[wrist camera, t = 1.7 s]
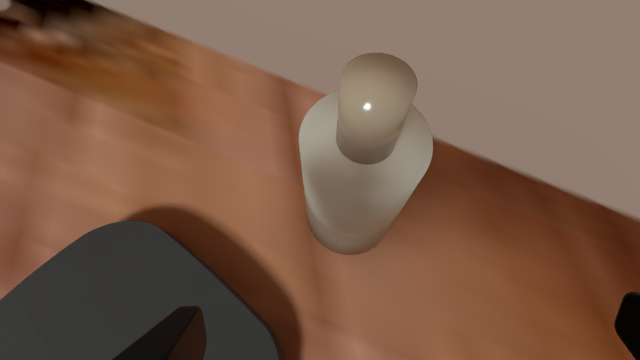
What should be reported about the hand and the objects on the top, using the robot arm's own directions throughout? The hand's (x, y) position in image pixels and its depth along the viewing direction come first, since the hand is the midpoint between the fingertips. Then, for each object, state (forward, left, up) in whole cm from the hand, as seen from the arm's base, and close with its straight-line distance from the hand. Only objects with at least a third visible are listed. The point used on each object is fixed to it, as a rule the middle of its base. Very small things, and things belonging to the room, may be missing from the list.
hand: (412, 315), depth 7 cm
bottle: (+6, -2, -13) cm, 14 cm away
